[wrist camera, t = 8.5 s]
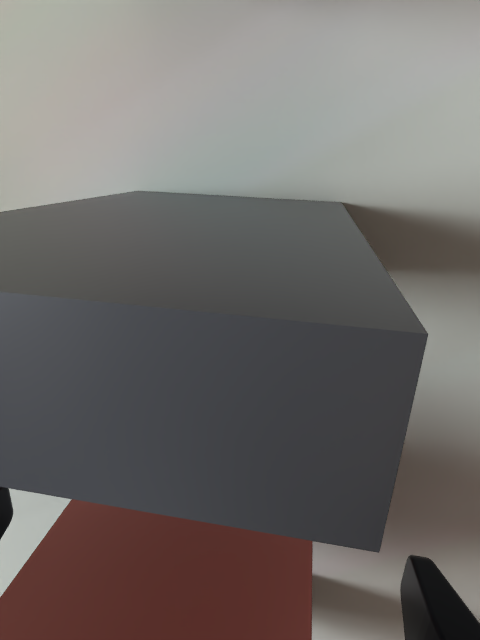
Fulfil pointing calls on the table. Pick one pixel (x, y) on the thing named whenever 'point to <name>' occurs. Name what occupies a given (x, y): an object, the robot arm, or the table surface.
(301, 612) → the domino
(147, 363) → the domino
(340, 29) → the table surface
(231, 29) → the table surface
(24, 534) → the table surface
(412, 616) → the robot arm
